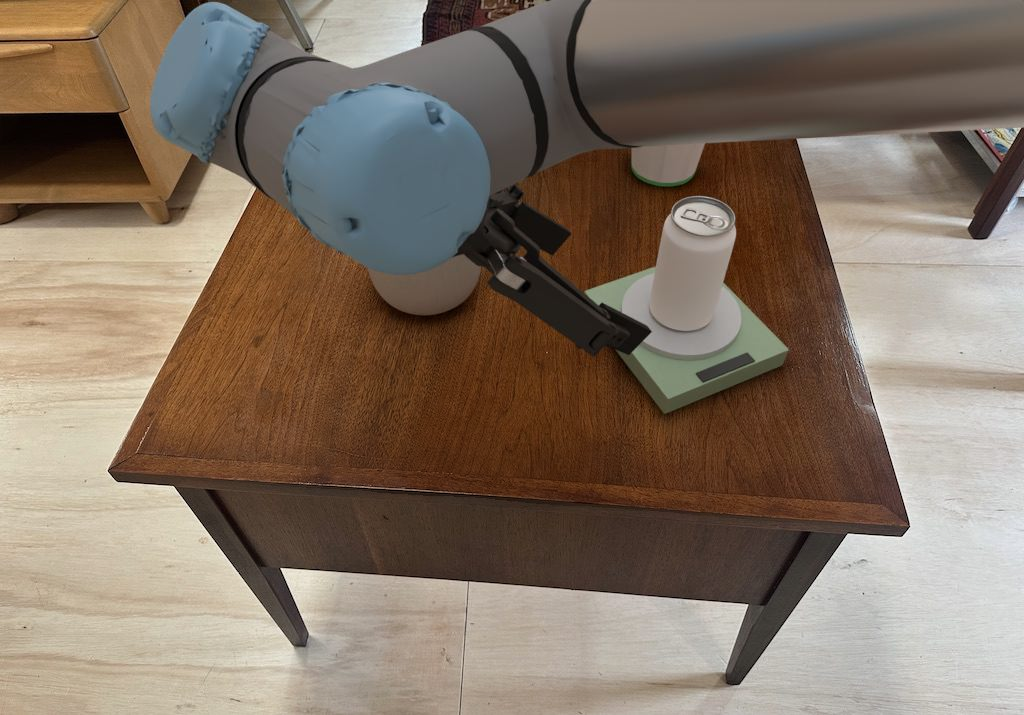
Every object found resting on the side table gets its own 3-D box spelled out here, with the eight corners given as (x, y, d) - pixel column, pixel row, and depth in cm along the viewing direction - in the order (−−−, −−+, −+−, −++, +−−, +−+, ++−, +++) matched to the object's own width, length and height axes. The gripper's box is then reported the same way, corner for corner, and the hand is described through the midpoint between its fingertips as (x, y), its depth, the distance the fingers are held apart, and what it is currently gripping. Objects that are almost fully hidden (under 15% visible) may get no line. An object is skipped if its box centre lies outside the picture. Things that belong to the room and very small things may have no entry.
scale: (782, 365, 71) (791, 344, 68) (664, 414, 67) (669, 393, 65) (690, 268, 80) (695, 247, 78) (582, 306, 77) (584, 285, 74)
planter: (477, 246, 83) (472, 167, 75) (491, 321, 75) (487, 241, 67) (371, 258, 82) (354, 179, 74) (374, 335, 74) (355, 256, 66)
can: (699, 342, 69) (726, 247, 60) (638, 319, 71) (654, 223, 62) (722, 301, 72) (750, 206, 63) (662, 280, 75) (682, 185, 65)
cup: (727, 161, 94) (755, 48, 82) (682, 208, 88) (706, 93, 76) (645, 132, 99) (661, 21, 87) (597, 174, 93) (607, 61, 81)
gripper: (328, 140, 55) (508, 237, 70) (446, 360, 40) (643, 423, 55) (383, 58, 52) (558, 178, 67) (532, 260, 37) (713, 355, 52)
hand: (596, 288), depth 61 cm, fingers open, 13 cm apart
